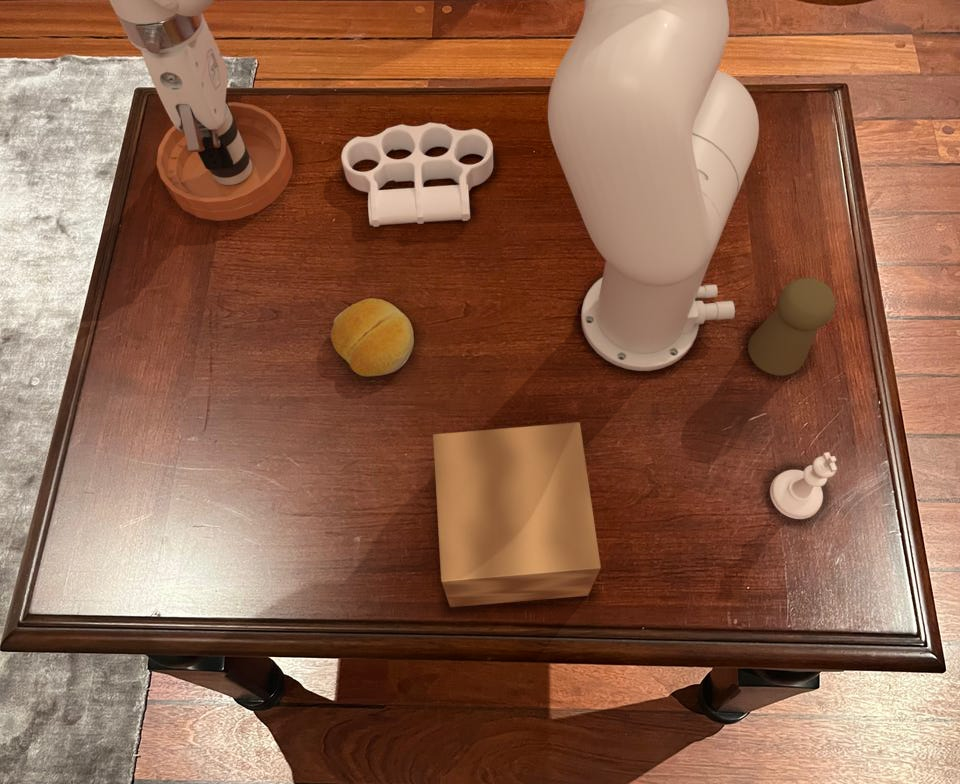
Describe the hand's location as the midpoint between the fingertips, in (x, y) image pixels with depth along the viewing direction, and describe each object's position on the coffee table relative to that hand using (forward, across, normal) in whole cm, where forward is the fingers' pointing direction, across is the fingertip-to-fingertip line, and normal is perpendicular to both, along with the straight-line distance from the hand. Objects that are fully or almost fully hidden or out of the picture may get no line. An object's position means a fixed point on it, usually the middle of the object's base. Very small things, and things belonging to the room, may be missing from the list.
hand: (221, 146), depth 94 cm
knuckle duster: (+5, -3, -23) cm, 24 cm away
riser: (+5, -48, -30) cm, 57 cm away
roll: (+4, 0, 0) cm, 4 cm away
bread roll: (+5, -25, -17) cm, 31 cm away
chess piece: (+6, -46, -58) cm, 74 cm away
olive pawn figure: (+6, -30, -60) cm, 67 cm away
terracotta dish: (+5, 0, 0) cm, 5 cm away
